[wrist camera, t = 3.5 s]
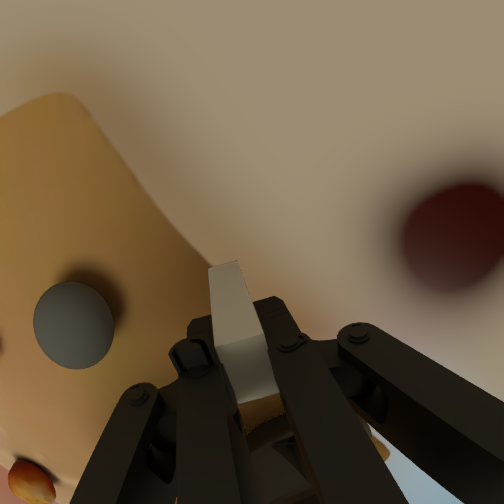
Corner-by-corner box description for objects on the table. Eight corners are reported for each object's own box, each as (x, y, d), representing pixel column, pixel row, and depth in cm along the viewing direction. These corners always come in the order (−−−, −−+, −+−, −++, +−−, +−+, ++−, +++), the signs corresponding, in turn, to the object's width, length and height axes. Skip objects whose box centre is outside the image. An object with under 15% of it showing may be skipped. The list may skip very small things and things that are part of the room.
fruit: (-5, 450, 19) (2, 492, 13) (34, 445, 24) (46, 487, 18) (17, 476, 21) (28, 514, 15) (53, 471, 26) (68, 509, 20)
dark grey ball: (131, 288, 17) (109, 333, 12) (113, 349, 18) (94, 399, 13) (61, 256, 16) (20, 288, 11) (50, 320, 17) (18, 361, 12)
